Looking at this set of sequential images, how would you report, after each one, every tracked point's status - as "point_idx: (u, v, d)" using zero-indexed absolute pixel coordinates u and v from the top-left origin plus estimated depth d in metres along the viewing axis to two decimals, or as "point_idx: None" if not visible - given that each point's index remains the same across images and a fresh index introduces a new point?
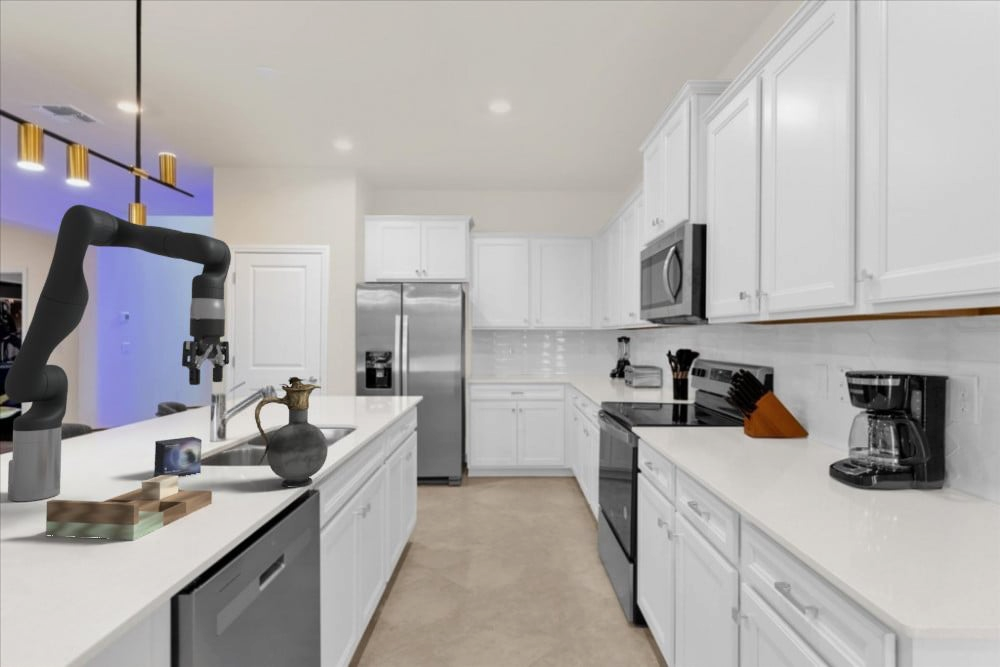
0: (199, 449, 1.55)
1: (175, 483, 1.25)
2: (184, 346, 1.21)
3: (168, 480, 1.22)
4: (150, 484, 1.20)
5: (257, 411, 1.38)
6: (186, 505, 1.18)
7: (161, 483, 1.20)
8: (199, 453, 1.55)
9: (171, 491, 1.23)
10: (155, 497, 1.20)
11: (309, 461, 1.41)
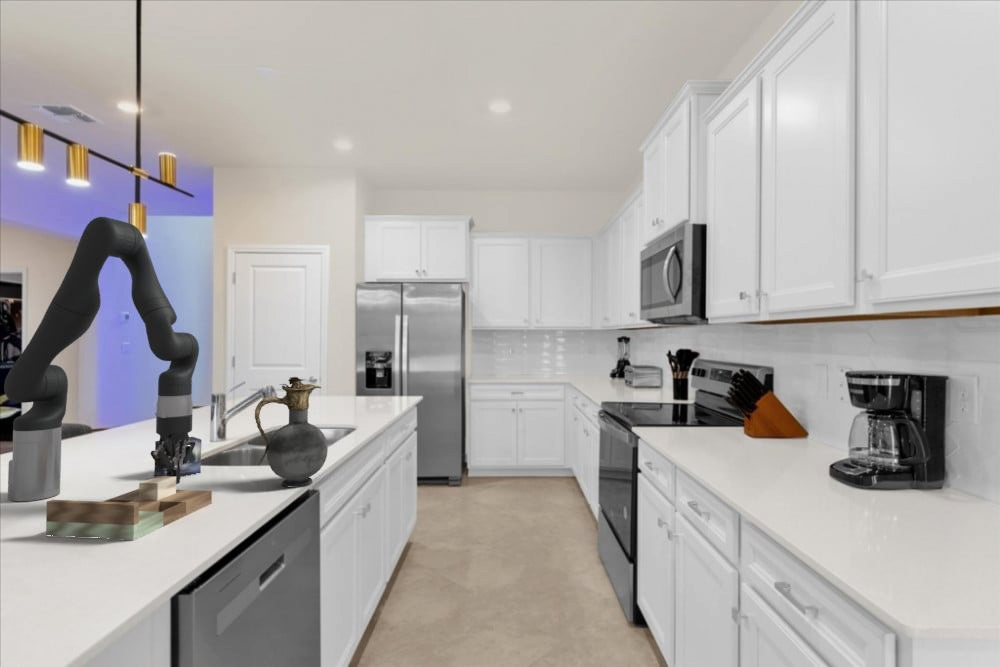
0: (199, 449, 1.55)
1: (173, 484, 1.24)
2: (153, 457, 1.22)
3: (166, 481, 1.22)
4: (147, 485, 1.19)
5: (257, 411, 1.38)
6: (186, 505, 1.18)
7: (159, 484, 1.19)
8: (199, 453, 1.55)
9: (168, 492, 1.22)
10: (153, 498, 1.19)
11: (309, 461, 1.41)
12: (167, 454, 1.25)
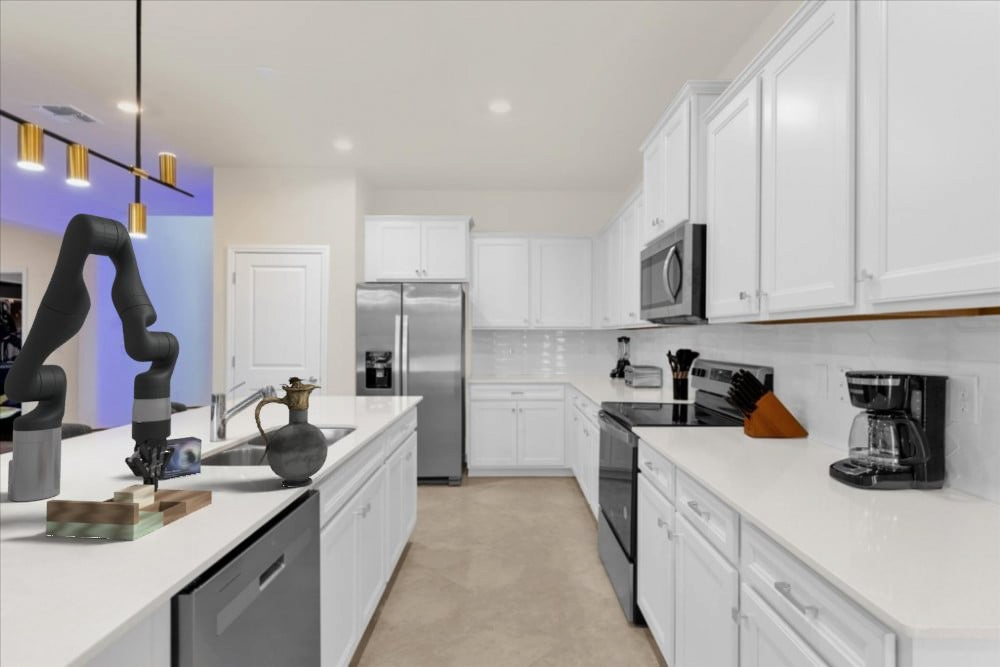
0: (199, 449, 1.55)
1: (150, 493, 1.16)
2: (128, 464, 1.14)
3: (143, 490, 1.14)
4: (123, 494, 1.12)
5: (257, 411, 1.38)
6: (186, 505, 1.18)
7: (135, 493, 1.12)
8: (199, 453, 1.55)
9: (146, 501, 1.15)
10: None
11: (309, 461, 1.41)
12: (143, 461, 1.17)
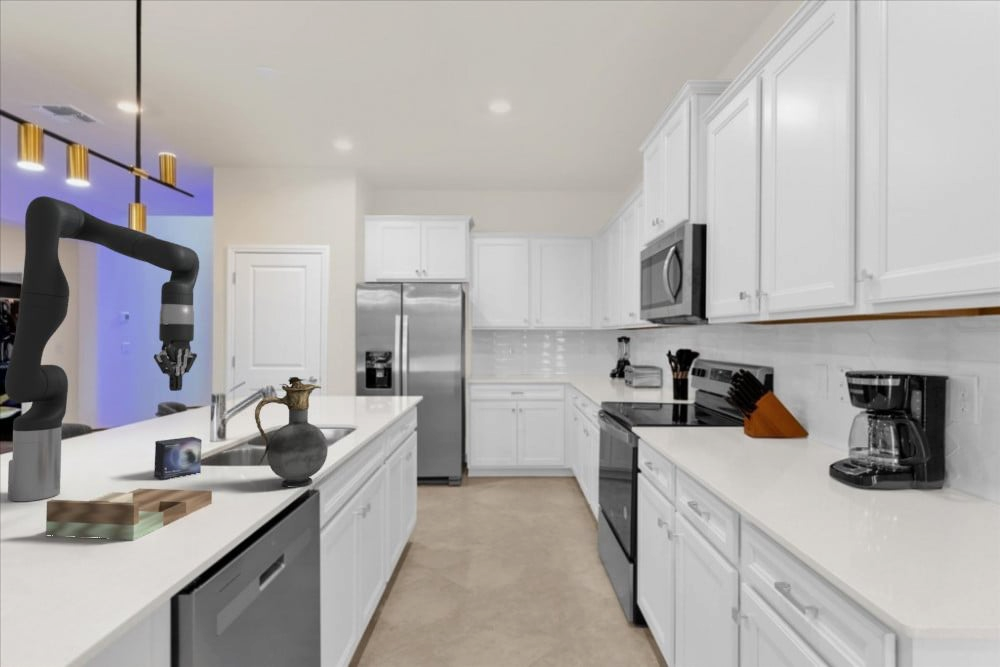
0: (199, 449, 1.55)
1: (128, 501, 1.10)
2: (156, 360, 1.27)
3: (120, 498, 1.08)
4: None
5: (257, 411, 1.38)
6: (186, 505, 1.18)
7: None
8: (199, 453, 1.55)
9: None
10: None
11: (309, 461, 1.41)
12: (169, 360, 1.30)
